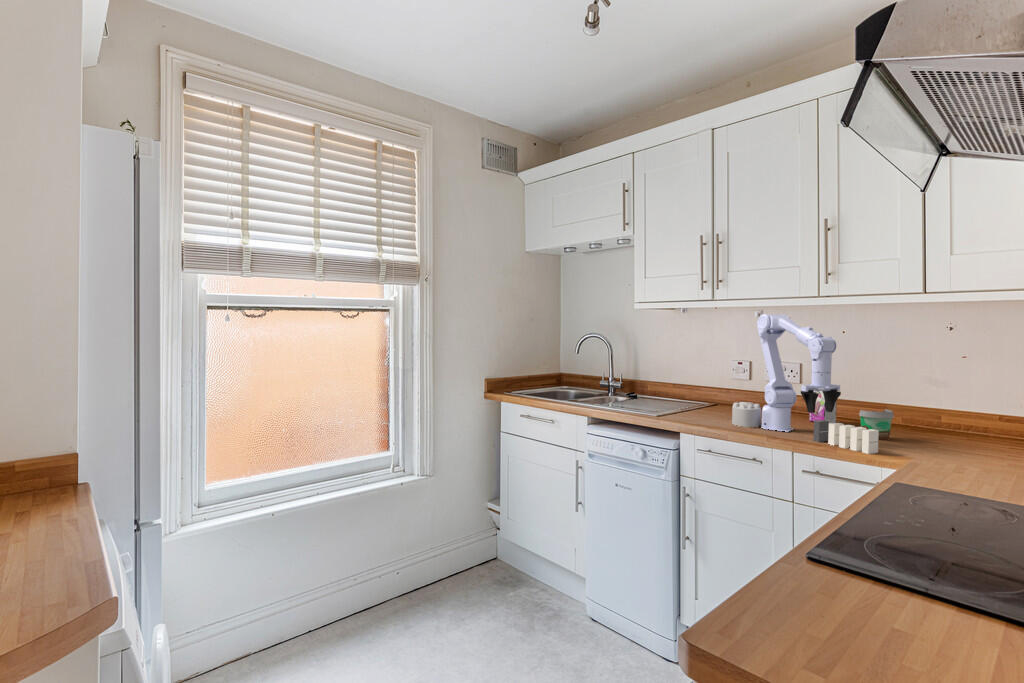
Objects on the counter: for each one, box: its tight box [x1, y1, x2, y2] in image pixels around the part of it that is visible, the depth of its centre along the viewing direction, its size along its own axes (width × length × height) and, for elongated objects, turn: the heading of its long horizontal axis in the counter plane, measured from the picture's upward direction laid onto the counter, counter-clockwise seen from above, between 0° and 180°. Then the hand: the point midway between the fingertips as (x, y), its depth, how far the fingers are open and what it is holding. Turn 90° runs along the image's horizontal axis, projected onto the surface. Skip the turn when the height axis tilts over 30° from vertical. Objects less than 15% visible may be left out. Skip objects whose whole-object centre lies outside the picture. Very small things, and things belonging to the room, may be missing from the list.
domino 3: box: [849, 426, 867, 452], centre depth 161 cm, size 2×4×7 cm, turn 111°
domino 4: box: [861, 429, 879, 455], centre depth 158 cm, size 2×4×7 cm, turn 111°
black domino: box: [812, 420, 829, 443], centre depth 173 cm, size 2×4×7 cm, turn 111°
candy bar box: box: [808, 381, 838, 424], centre depth 206 cm, size 11×5×16 cm, turn 179°
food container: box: [858, 408, 895, 441], centre depth 177 cm, size 12×6×10 cm, turn 105°
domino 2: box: [838, 424, 856, 449], centre depth 165 cm, size 2×4×7 cm, turn 111°
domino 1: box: [827, 422, 845, 447], centre depth 168 cm, size 2×4×7 cm, turn 111°
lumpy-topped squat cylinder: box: [731, 401, 762, 428], centre depth 202 cm, size 10×13×9 cm
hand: (820, 412), depth 174 cm, fingers open, 7 cm apart
